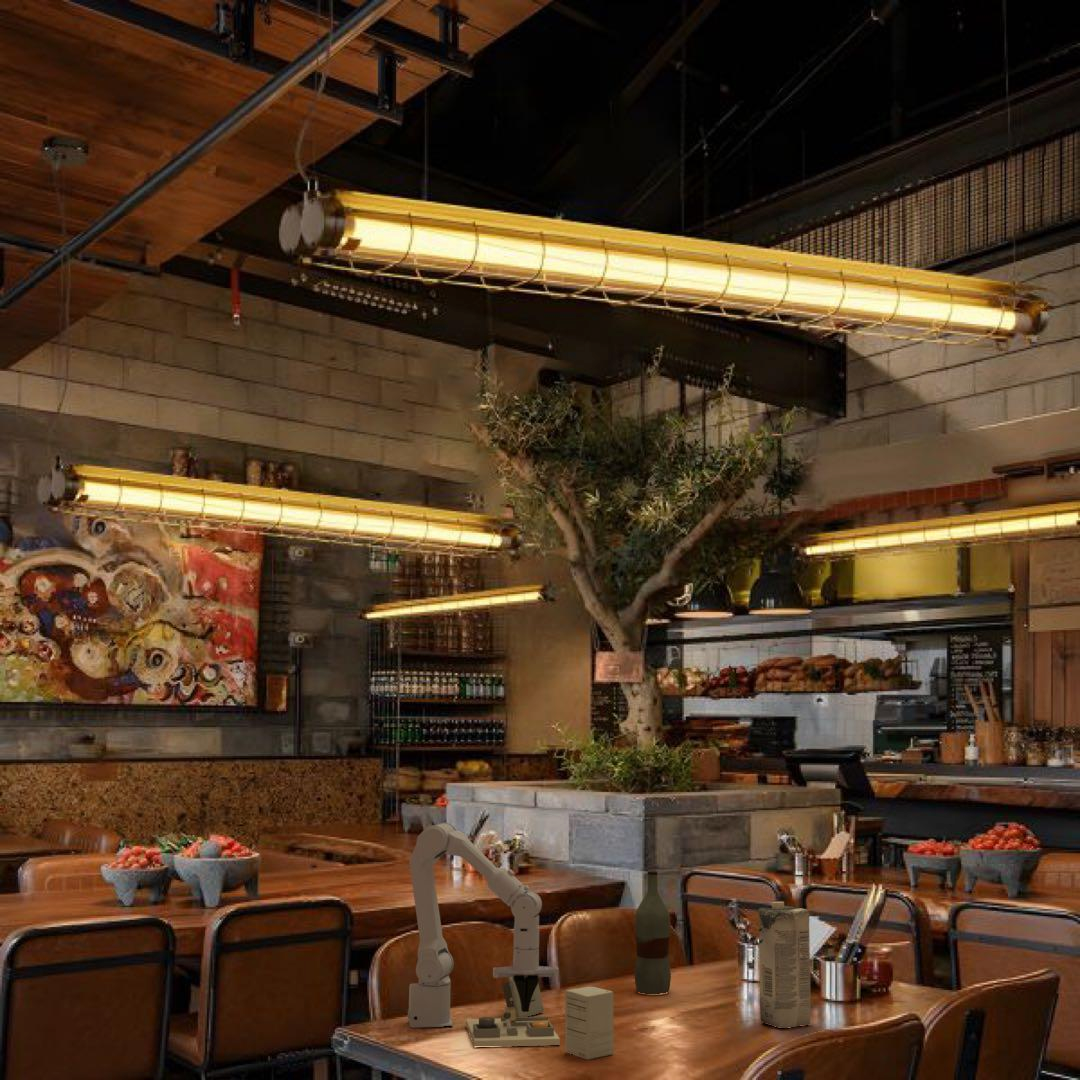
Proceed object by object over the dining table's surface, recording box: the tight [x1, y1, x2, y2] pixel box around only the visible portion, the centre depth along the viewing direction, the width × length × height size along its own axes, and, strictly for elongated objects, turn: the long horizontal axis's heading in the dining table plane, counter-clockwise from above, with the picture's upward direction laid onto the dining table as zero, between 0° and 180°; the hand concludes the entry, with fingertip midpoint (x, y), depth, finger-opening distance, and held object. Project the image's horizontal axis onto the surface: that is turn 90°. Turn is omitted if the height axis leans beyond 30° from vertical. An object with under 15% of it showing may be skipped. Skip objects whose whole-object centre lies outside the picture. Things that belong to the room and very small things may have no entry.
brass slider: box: [504, 1006, 516, 1022], centre depth 297 cm, size 2×3×3 cm, turn 8°
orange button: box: [532, 1021, 548, 1028], centre depth 288 cm, size 3×3×2 cm
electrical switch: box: [502, 977, 545, 1017], centre depth 313 cm, size 9×5×9 cm, turn 141°
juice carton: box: [757, 901, 812, 1028], centre depth 306 cm, size 9×10×27 cm
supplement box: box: [564, 985, 615, 1061], centre depth 278 cm, size 7×7×13 cm
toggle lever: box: [502, 1011, 512, 1030], centre depth 287 cm, size 2×2×4 cm
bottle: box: [634, 869, 672, 994], centre depth 340 cm, size 9×9×30 cm
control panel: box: [465, 1016, 561, 1047], centre depth 292 cm, size 18×20×3 cm
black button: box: [478, 1016, 496, 1028], centre depth 286 cm, size 3×3×2 cm
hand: (525, 1010), depth 298 cm, fingers closed
